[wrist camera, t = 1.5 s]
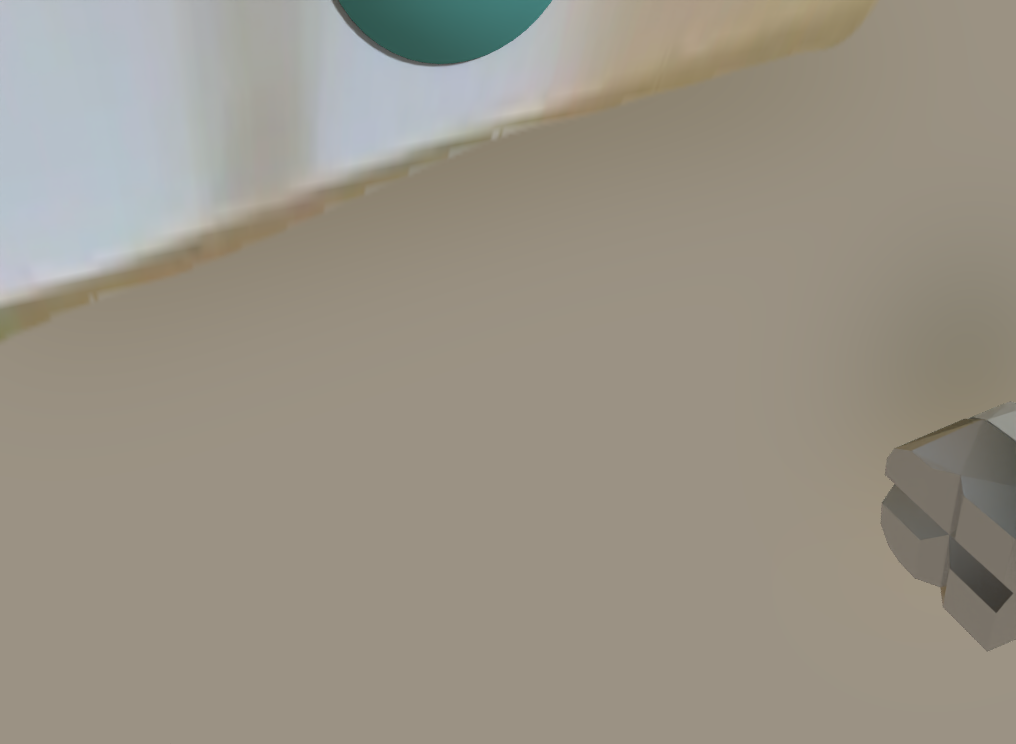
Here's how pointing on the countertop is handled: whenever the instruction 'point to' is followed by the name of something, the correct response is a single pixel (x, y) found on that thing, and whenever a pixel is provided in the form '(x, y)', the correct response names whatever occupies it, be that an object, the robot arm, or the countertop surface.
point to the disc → (443, 25)
